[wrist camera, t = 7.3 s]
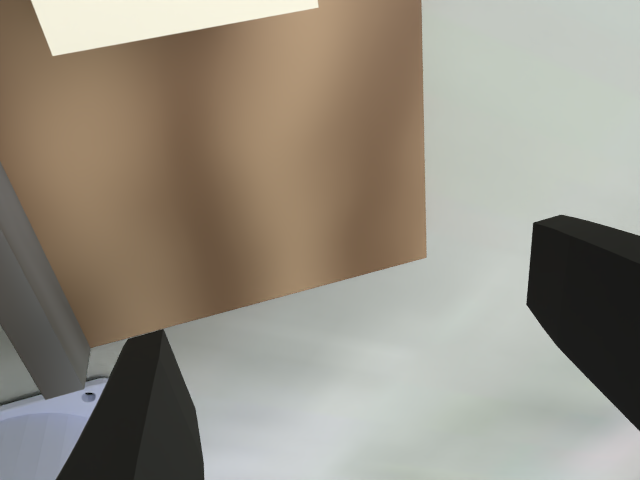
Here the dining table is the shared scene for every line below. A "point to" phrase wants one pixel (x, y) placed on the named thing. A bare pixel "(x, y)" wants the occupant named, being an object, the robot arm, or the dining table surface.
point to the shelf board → (201, 172)
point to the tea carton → (144, 19)
